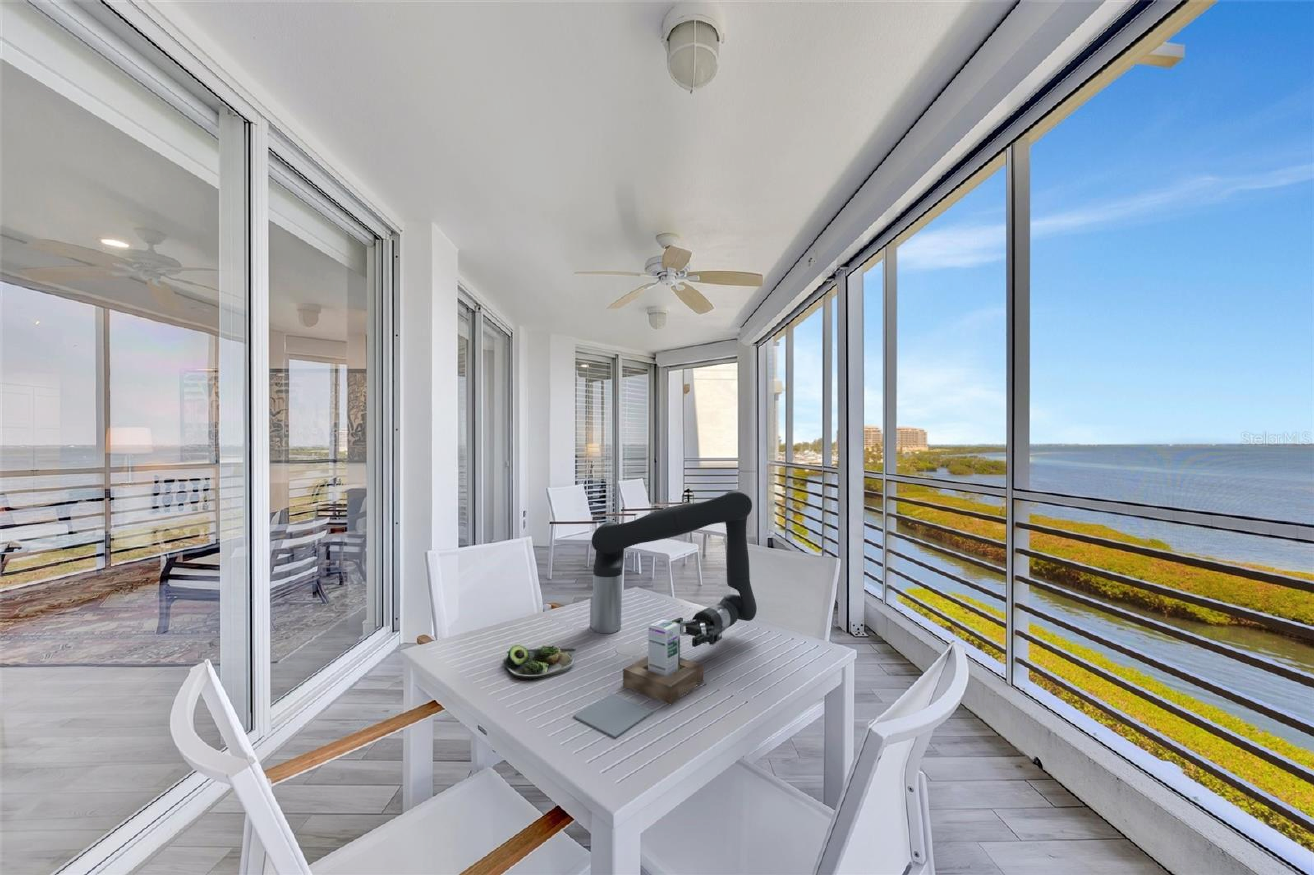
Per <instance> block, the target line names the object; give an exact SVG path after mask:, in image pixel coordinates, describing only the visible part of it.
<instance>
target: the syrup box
mask: <svg viewBox="0 0 1314 875" xmlns="http://www.w3.org/2000/svg"><path fill="white" fill-rule="evenodd" d="M647 627H648V628H647V630H648V632H647V633H648V634H647V635H648V636H647V637H648V638H647V641H648V642H647V643H648V645H647V648H648V650H647V656H648V670H649V671H651V672H654V673H657V674H659V675H662V676H665V677H669V676H670V675H672V674H674V673H675V672H677V671H679V670H680V658H681V635H680V624H679V623H676V622H674V621H672V620H670V619H663V618H661V619H660V620H658V621H656V622H654V623H652V624H649V625H648V626H647Z"/></svg>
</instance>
